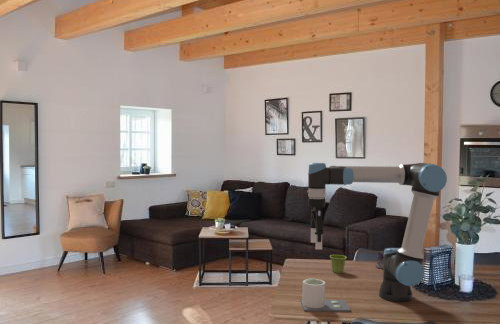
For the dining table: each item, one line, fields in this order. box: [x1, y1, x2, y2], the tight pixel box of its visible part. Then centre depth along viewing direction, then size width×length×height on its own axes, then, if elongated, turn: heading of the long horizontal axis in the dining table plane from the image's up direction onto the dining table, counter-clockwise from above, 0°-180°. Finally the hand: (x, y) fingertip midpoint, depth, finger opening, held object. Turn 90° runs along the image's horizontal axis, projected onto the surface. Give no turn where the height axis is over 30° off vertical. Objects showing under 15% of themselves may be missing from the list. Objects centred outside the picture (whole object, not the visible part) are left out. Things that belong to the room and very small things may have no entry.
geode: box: [375, 252, 384, 270], centre depth 276 cm, size 20×12×10 cm, turn 128°
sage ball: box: [305, 277, 318, 285], centre depth 206 cm, size 6×6×6 cm
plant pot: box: [329, 254, 348, 274], centre depth 262 cm, size 9×9×9 cm
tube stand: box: [300, 278, 351, 313], centre depth 206 cm, size 20×13×11 cm, turn 91°
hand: (316, 245), depth 206 cm, fingers open, 13 cm apart
